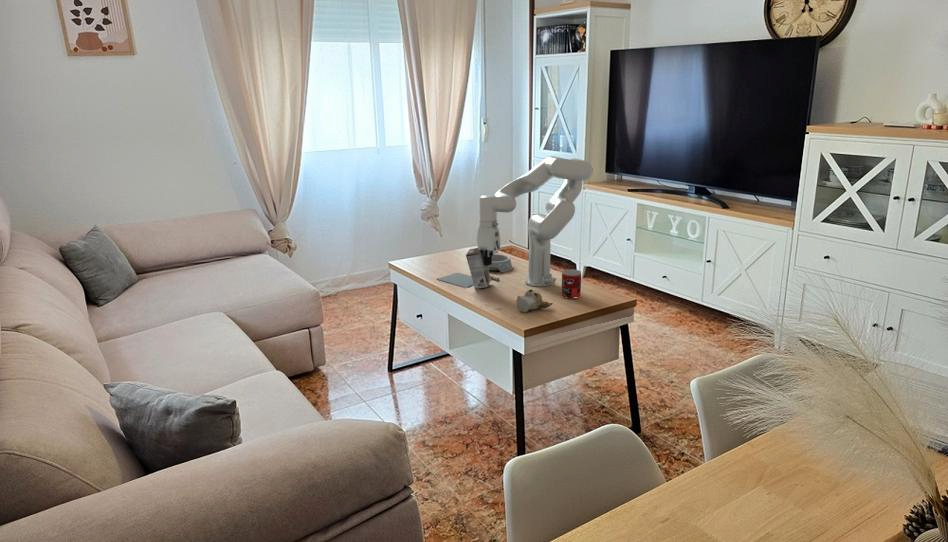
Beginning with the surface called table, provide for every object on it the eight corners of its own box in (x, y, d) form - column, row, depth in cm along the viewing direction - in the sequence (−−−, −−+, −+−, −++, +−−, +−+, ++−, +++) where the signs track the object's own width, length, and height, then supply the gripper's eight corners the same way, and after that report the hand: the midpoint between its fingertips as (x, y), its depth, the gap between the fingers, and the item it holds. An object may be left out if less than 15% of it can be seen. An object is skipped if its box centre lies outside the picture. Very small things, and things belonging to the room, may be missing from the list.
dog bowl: (476, 263, 315) (475, 253, 314) (512, 263, 315) (512, 253, 313) (474, 273, 299) (474, 262, 298) (512, 273, 298) (512, 262, 297)
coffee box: (478, 282, 282) (469, 249, 278) (491, 280, 281) (483, 246, 276) (474, 289, 274) (465, 255, 270) (488, 286, 272) (479, 252, 268)
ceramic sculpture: (509, 288, 246) (536, 283, 255) (508, 309, 248) (535, 303, 257) (527, 295, 238) (555, 290, 247) (525, 317, 240) (553, 310, 249)
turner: (501, 279, 287) (501, 276, 287) (494, 281, 284) (494, 279, 284) (478, 273, 297) (478, 271, 297) (471, 275, 294) (471, 273, 294)
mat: (486, 280, 285) (486, 280, 285) (465, 287, 276) (465, 287, 276) (458, 273, 298) (458, 272, 298) (436, 279, 289) (436, 278, 289)
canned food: (558, 295, 265) (558, 270, 262) (574, 292, 268) (575, 268, 265) (567, 300, 258) (568, 275, 255) (583, 298, 261) (584, 273, 258)
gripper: (507, 225, 265) (506, 266, 270) (481, 220, 275) (481, 260, 280) (495, 227, 260) (495, 269, 265) (469, 222, 270) (469, 263, 275)
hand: (488, 264), depth 272 cm, fingers closed
